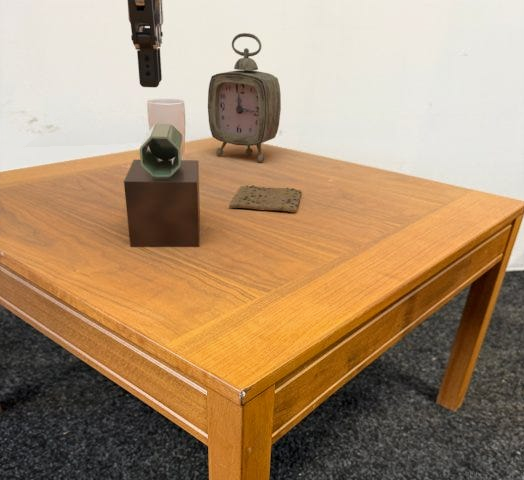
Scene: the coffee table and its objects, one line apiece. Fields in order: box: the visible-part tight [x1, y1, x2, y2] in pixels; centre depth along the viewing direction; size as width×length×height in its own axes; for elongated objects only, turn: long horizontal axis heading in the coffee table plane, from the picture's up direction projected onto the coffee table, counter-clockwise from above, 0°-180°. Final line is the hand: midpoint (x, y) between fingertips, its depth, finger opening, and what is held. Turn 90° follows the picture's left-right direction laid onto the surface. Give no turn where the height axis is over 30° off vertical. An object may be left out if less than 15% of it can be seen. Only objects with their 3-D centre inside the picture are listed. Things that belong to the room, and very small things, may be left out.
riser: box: [123, 159, 201, 247], centre depth 83 cm, size 10×12×10 cm
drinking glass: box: [146, 97, 186, 160], centre depth 103 cm, size 7×7×15 cm
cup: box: [139, 123, 183, 178], centre depth 79 cm, size 9×6×6 cm, turn 5°
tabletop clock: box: [207, 32, 282, 163], centre depth 121 cm, size 14×9×25 cm, turn 64°
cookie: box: [228, 185, 303, 214], centre depth 100 cm, size 12×12×1 cm
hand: (151, 83), depth 65 cm, fingers open, 3 cm apart
